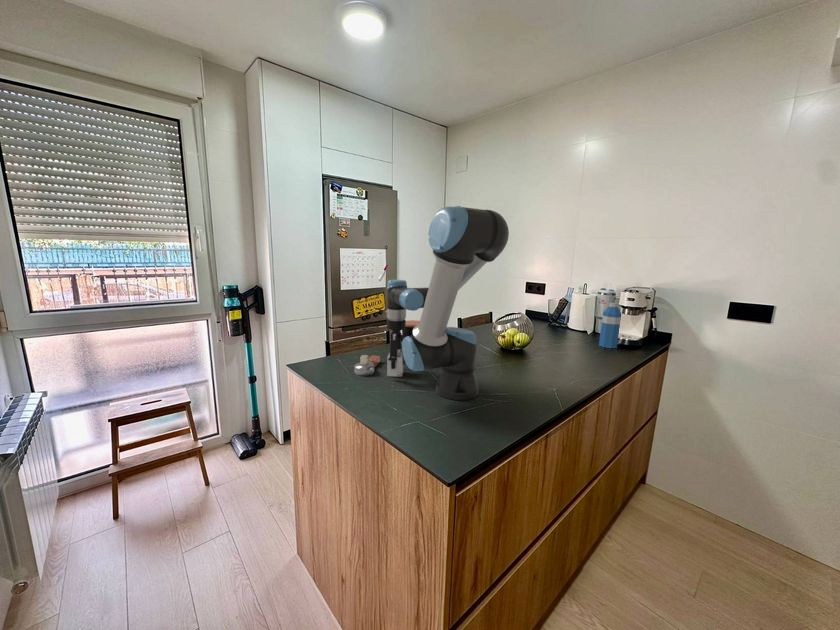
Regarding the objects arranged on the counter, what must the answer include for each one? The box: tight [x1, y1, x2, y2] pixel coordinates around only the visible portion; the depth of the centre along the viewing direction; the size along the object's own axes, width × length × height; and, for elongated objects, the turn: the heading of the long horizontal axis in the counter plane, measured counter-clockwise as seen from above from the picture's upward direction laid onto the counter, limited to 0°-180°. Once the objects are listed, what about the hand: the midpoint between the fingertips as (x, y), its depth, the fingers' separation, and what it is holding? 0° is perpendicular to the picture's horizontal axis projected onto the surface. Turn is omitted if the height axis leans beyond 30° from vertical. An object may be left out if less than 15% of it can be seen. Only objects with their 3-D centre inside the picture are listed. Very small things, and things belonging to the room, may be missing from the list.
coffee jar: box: [401, 320, 420, 364], centre depth 150 cm, size 11×11×18 cm
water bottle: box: [598, 302, 622, 349], centre depth 182 cm, size 9×9×25 cm
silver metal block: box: [386, 352, 405, 378], centre depth 135 cm, size 6×6×8 cm
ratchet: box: [354, 354, 381, 377], centre depth 140 cm, size 18×8×7 cm, turn 168°
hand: (395, 369), depth 135 cm, fingers open, 13 cm apart
